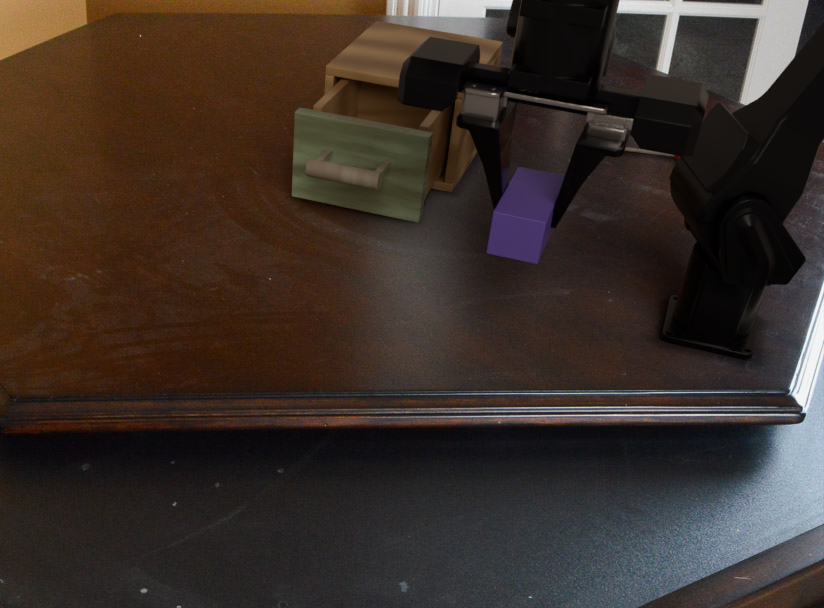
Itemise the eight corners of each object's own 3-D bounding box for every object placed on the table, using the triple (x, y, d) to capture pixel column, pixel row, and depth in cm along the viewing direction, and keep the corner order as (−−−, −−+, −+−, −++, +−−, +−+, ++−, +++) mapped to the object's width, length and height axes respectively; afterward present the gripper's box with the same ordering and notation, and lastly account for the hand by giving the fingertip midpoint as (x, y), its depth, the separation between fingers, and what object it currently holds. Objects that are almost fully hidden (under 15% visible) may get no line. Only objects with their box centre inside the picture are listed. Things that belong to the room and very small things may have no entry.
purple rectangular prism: (558, 215, 75) (567, 175, 73) (537, 264, 69) (546, 222, 68) (510, 206, 76) (518, 166, 74) (485, 253, 70) (493, 211, 68)
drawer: (404, 245, 85) (414, 157, 80) (272, 216, 87) (274, 130, 82) (458, 163, 97) (469, 83, 93) (342, 140, 100) (347, 62, 95)
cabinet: (451, 192, 95) (465, 90, 89) (320, 166, 98) (325, 65, 92) (488, 136, 105) (503, 41, 99) (368, 113, 108) (376, 20, 102)
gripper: (744, -35, 66) (675, 201, 76) (455, -77, 70) (427, 152, 80) (735, 12, 58) (659, 269, 68) (408, -39, 62) (383, 210, 72)
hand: (526, 220), depth 72 cm, fingers closed on purple rectangular prism, 3 cm apart
